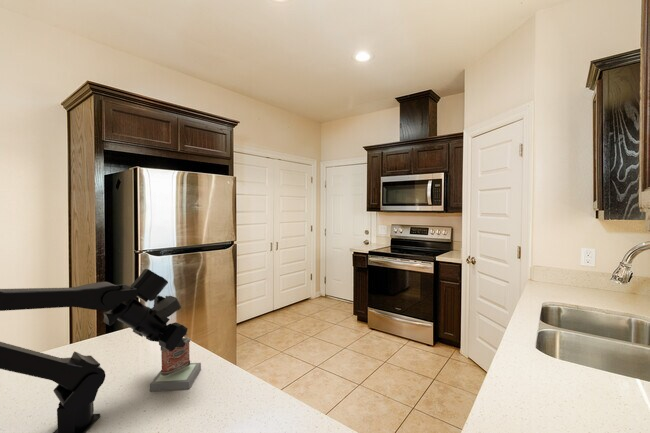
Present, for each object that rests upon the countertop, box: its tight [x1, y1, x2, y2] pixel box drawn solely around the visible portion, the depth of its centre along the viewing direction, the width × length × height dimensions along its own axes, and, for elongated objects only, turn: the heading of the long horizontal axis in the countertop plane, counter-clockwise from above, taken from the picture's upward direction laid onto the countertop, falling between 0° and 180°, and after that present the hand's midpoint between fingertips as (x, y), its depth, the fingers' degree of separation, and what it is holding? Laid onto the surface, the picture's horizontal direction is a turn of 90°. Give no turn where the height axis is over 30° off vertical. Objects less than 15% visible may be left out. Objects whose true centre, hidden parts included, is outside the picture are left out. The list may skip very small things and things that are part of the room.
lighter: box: [160, 331, 191, 376], centre depth 86 cm, size 8×3×10 cm, turn 145°
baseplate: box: [149, 362, 202, 392], centre depth 86 cm, size 10×10×2 cm
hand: (180, 343), depth 87 cm, fingers closed on lighter, 3 cm apart
